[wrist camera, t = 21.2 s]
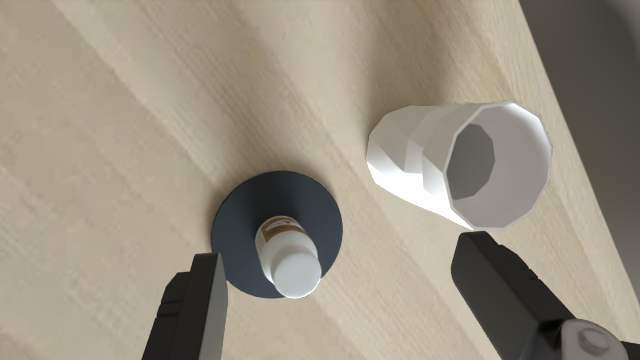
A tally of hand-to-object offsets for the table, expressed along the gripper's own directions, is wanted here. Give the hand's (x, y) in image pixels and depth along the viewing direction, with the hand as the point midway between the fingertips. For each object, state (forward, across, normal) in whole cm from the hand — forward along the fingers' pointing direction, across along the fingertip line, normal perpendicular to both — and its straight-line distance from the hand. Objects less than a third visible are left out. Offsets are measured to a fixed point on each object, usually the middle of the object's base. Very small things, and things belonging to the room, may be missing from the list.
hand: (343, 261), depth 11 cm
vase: (+21, -10, +6) cm, 24 cm away
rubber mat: (+16, +2, +12) cm, 20 cm away
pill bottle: (+16, +2, +12) cm, 20 cm away
